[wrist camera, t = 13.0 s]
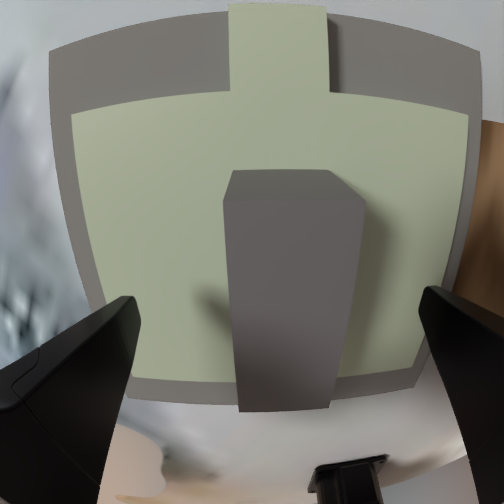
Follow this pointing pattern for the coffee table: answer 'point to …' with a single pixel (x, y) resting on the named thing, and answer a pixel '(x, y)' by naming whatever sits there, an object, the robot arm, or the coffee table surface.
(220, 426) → the coffee table surface
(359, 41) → the rubber mat
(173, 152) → the toolbox lid
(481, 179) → the toolbox
